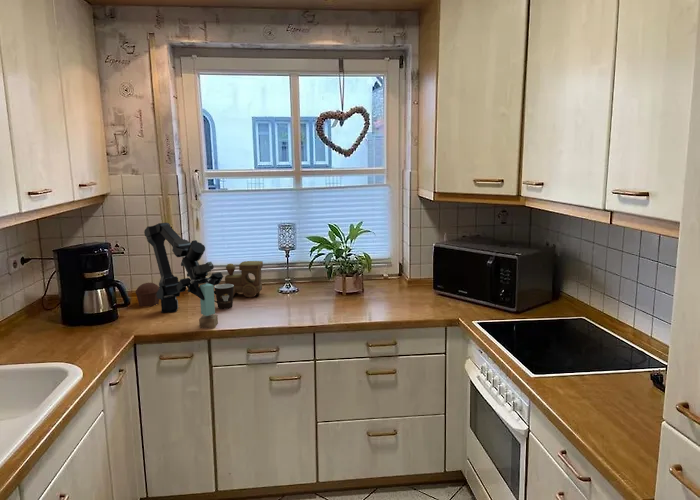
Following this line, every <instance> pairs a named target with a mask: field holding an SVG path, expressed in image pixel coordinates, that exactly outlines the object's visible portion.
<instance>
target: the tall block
mask: <svg viewBox="0 0 700 500" xmlns="http://www.w3.org/2000/svg"><path fill="white" fill-rule="evenodd" d="M214 286H215V285H212V284H209V283H208V284H205V283H203V284H199V288H200V290H201V292H202V293H203V295H204V298H205V300H202V299H200V298H199V299H200V300H199V302H200V304H199V305H200V314H201V315H205V316H208V315H216V309H215V308H216V306H215V305H216V304H215V303H216V302H214V300H215V297H214V296H215V293H214V291H215V288H214Z"/></svg>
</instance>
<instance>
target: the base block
mask: <svg viewBox="0 0 700 500" xmlns="http://www.w3.org/2000/svg"><path fill="white" fill-rule="evenodd" d="M218 316H219V315H218V314H212V315H208V316H205V315H203V314H201V316H200V318H199V319H198V321H199V322H198V323H199V329H215V328H216V327H217V326H218V324H219V317H218Z"/></svg>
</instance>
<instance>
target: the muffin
mask: <svg viewBox="0 0 700 500" xmlns="http://www.w3.org/2000/svg"><path fill="white" fill-rule="evenodd" d="M158 289H159V284H156V283H154V282H145V283H142V284H140V285H139V286H138V287H137V288H136V290H135V292H134V293H135V295H136V298H137V301H138V306H139V307H142V306H150V307H154V306H153V305H155V306H157V305H156V304H158V305H159V304H160V299H158V298H157V295H156V293H157V291H158Z"/></svg>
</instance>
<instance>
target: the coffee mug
mask: <svg viewBox="0 0 700 500" xmlns="http://www.w3.org/2000/svg"><path fill="white" fill-rule="evenodd" d="M233 290H234V285H232V284H225V283H221V284H220V283H219V284H218V285H214V296H215V299H216V300H215V299H214V302H215V303H216V304H217V309H218V310H228V309H232V308H233V302H234V296H233Z"/></svg>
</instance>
